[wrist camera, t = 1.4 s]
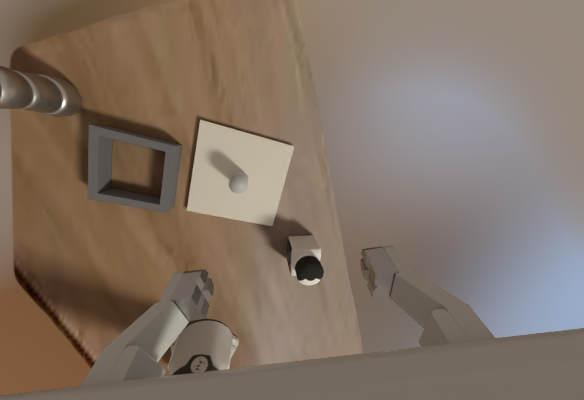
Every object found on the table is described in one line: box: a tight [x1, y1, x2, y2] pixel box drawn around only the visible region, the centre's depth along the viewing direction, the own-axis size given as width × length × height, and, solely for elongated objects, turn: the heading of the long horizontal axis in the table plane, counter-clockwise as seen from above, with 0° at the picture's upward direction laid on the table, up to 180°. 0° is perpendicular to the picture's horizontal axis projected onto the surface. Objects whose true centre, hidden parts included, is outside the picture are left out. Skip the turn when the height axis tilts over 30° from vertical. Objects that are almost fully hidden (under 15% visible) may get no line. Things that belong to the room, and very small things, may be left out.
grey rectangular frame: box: [88, 125, 182, 213], centre depth 41 cm, size 14×14×4 cm
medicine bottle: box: [287, 235, 324, 285], centre depth 50 cm, size 7×7×12 cm
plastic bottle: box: [0, 66, 82, 117], centre depth 28 cm, size 6×7×20 cm
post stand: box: [187, 120, 294, 226], centre depth 44 cm, size 20×20×7 cm
